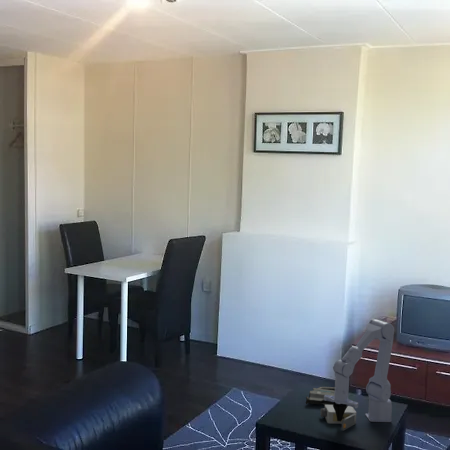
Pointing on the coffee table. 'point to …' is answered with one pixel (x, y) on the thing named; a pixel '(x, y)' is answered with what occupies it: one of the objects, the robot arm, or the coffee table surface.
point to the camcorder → (320, 395)
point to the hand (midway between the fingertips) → (339, 420)
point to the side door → (348, 422)
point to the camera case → (331, 414)
